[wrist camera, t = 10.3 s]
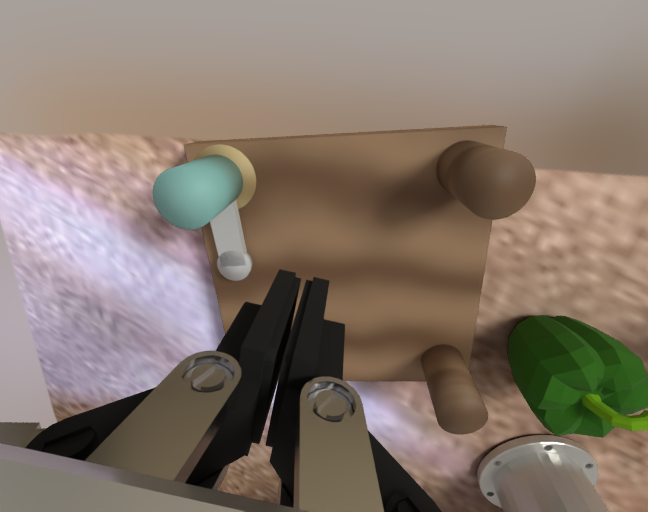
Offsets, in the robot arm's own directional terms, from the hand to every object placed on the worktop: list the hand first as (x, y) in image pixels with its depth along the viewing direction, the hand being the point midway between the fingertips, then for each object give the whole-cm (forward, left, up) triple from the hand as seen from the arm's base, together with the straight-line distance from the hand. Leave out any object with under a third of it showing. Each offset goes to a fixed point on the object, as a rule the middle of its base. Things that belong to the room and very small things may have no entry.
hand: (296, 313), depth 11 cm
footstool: (-7, -1, -17) cm, 19 cm away
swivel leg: (-1, +7, -14) cm, 16 cm away
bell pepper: (-15, -19, -18) cm, 30 cm away
